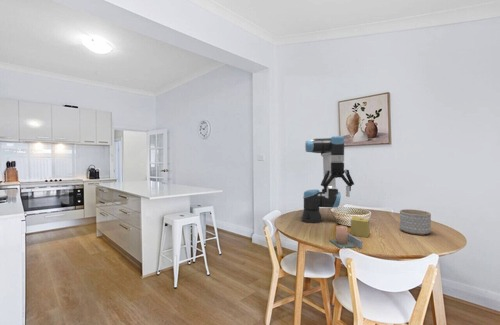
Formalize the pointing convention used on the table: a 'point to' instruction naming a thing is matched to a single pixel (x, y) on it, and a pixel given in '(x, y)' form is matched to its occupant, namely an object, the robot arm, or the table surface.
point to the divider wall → (355, 241)
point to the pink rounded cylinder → (341, 235)
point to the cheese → (360, 226)
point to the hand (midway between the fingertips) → (337, 197)
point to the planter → (415, 221)
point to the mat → (342, 245)
